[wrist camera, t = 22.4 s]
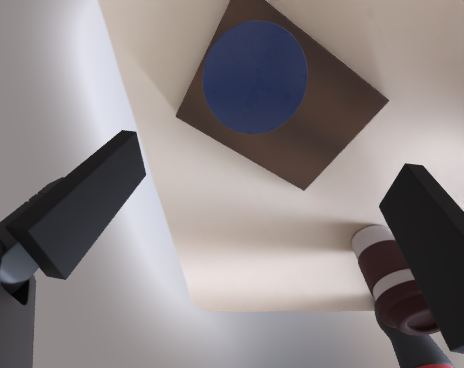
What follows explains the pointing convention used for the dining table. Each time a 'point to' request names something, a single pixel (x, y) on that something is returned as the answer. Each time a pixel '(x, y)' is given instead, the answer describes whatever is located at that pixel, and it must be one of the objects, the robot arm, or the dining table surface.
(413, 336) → the cola bottle
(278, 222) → the dining table surface
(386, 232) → the coffee cup
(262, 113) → the lid
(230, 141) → the board
